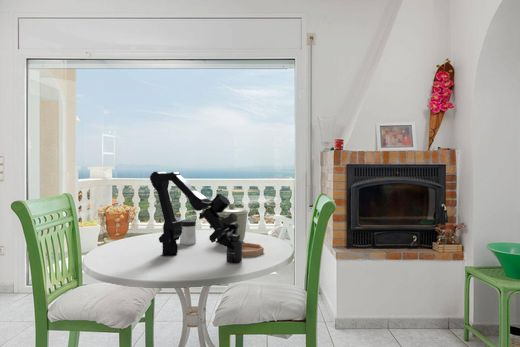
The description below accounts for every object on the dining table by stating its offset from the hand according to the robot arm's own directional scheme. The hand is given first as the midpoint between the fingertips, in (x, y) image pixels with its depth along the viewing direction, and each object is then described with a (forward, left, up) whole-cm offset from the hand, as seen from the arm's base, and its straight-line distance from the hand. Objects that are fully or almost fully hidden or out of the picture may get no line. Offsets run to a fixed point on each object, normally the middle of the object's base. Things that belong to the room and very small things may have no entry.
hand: (237, 246), depth 158 cm
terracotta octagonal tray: (+7, +16, -7) cm, 18 cm away
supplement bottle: (-1, +1, -7) cm, 7 cm away
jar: (-18, +43, -7) cm, 47 cm away
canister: (+5, +40, -7) cm, 41 cm away
